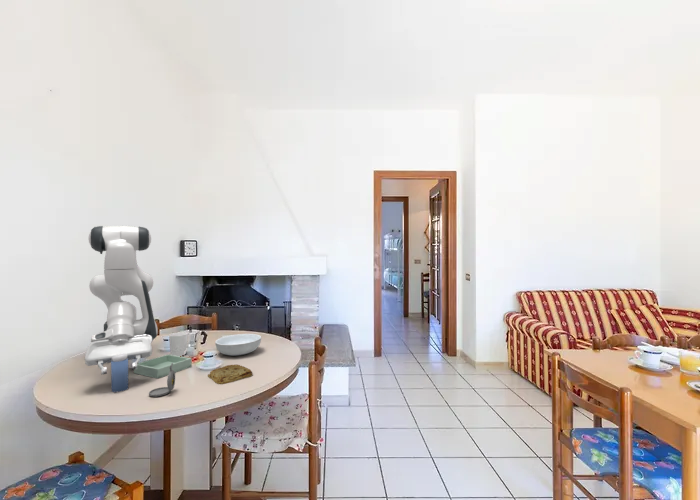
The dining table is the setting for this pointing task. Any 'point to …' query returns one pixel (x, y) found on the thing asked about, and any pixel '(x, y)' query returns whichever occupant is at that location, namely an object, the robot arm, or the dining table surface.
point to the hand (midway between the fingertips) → (119, 370)
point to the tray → (162, 366)
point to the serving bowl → (238, 344)
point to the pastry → (229, 374)
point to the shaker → (119, 372)
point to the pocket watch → (167, 389)
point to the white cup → (178, 343)
